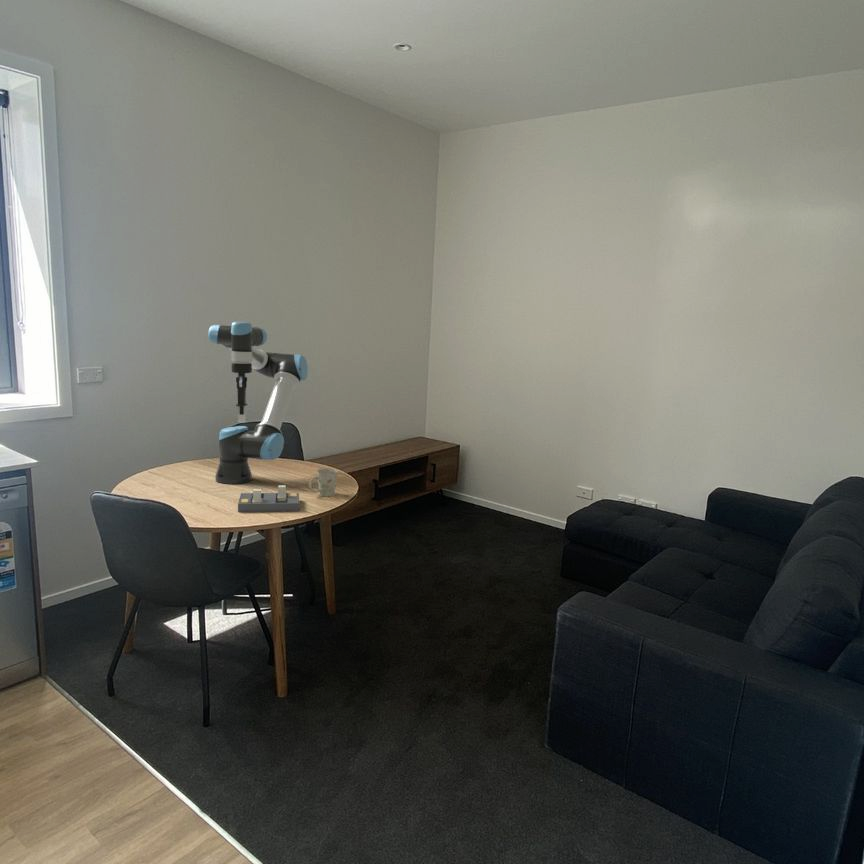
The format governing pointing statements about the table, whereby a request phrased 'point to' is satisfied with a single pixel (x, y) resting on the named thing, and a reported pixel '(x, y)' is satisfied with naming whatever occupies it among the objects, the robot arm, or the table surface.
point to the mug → (325, 482)
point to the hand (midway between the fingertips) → (241, 422)
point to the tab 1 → (257, 496)
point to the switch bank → (268, 503)
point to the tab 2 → (281, 493)
